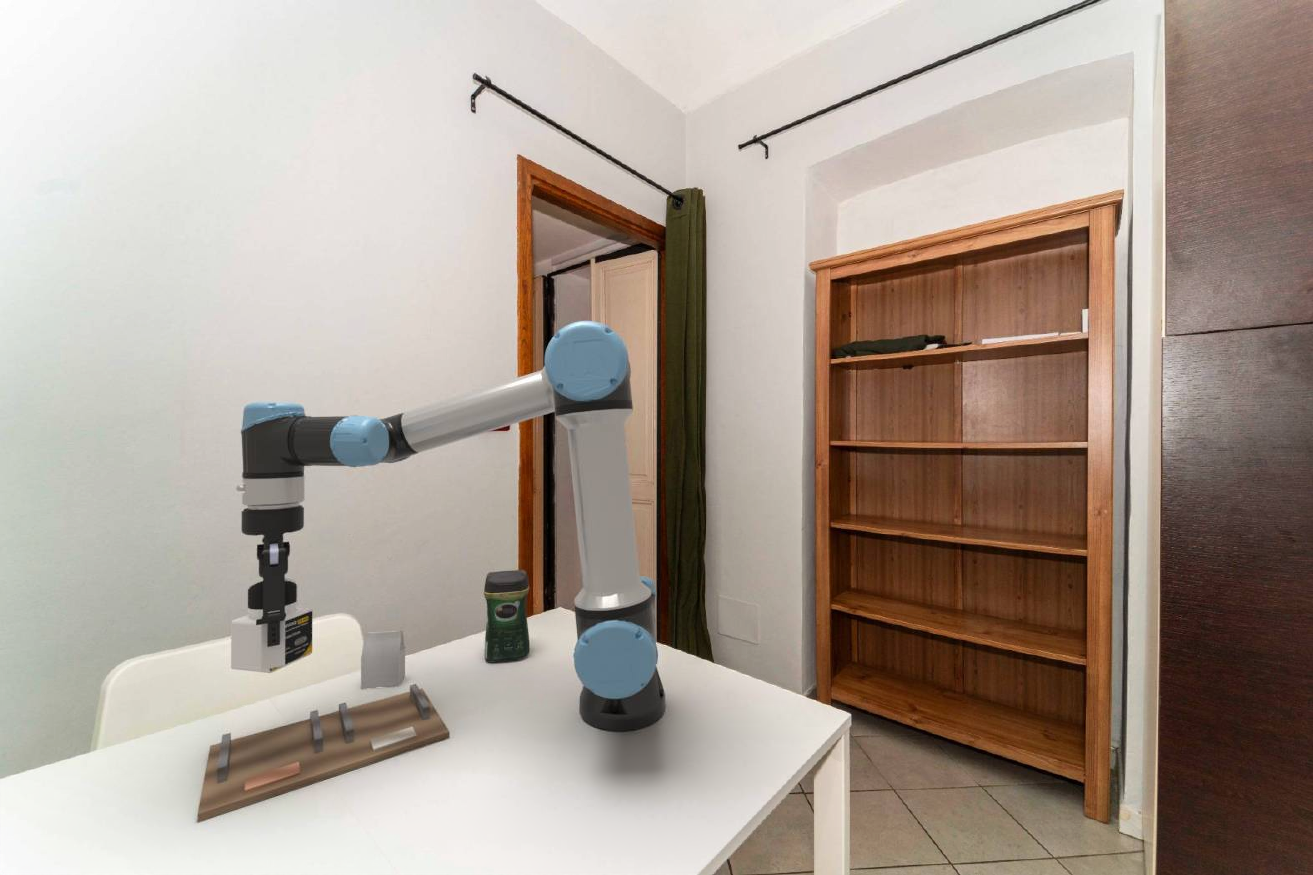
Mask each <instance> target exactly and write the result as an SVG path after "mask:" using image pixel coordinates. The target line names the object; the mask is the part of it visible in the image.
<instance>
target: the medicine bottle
mask: <svg viewBox="0 0 1313 875" xmlns="http://www.w3.org/2000/svg"><path fill="white" fill-rule="evenodd" d="M298 605H299V582H297V580H295V579H291V578H286V577H285V613H286V618H285V665H284V666H279V667H275V668H270V669H265V670H261V625H256V620H258V619H262V616H263V580H262V581H258V582H256V583H254V584H252V585H251V586H249V588H248V589H247V614H246V615H244V616H240V617H238V618H235V619H233V620H232V621H231V623H230V624H231V625H230V629H231V630H230V633H231V636H230V641H231V642H230V668H231V669H232V670H237V671H248V672H254V673H255V672H256V673H266V674H272V673H275V672H277V671H278V670H281V669H283V668H285V667H287V666H289V665H291V664H294V663H295V662H297V661H299V660H303V659H304V658H306V657H308V656H311V655H312V653H313V609H312V608H309V607H299V606H298ZM278 611H279V610H277V611H271V612H268V613H272V612H278ZM268 613H267V614H268Z"/></svg>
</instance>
